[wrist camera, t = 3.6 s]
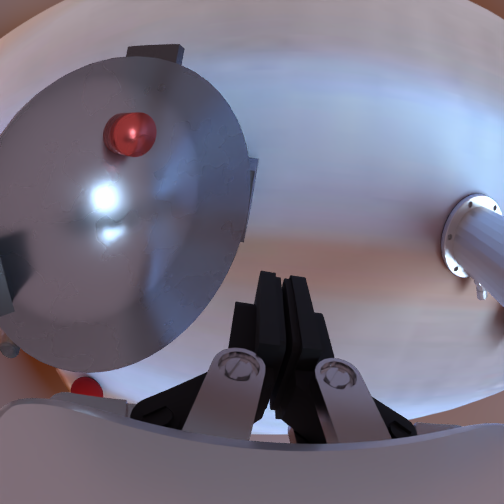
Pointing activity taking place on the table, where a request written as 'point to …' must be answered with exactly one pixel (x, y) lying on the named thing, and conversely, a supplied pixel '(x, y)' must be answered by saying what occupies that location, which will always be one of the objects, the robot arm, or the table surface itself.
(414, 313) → the table surface
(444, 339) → the table surface
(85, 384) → the christmas ornament
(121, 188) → the lid
